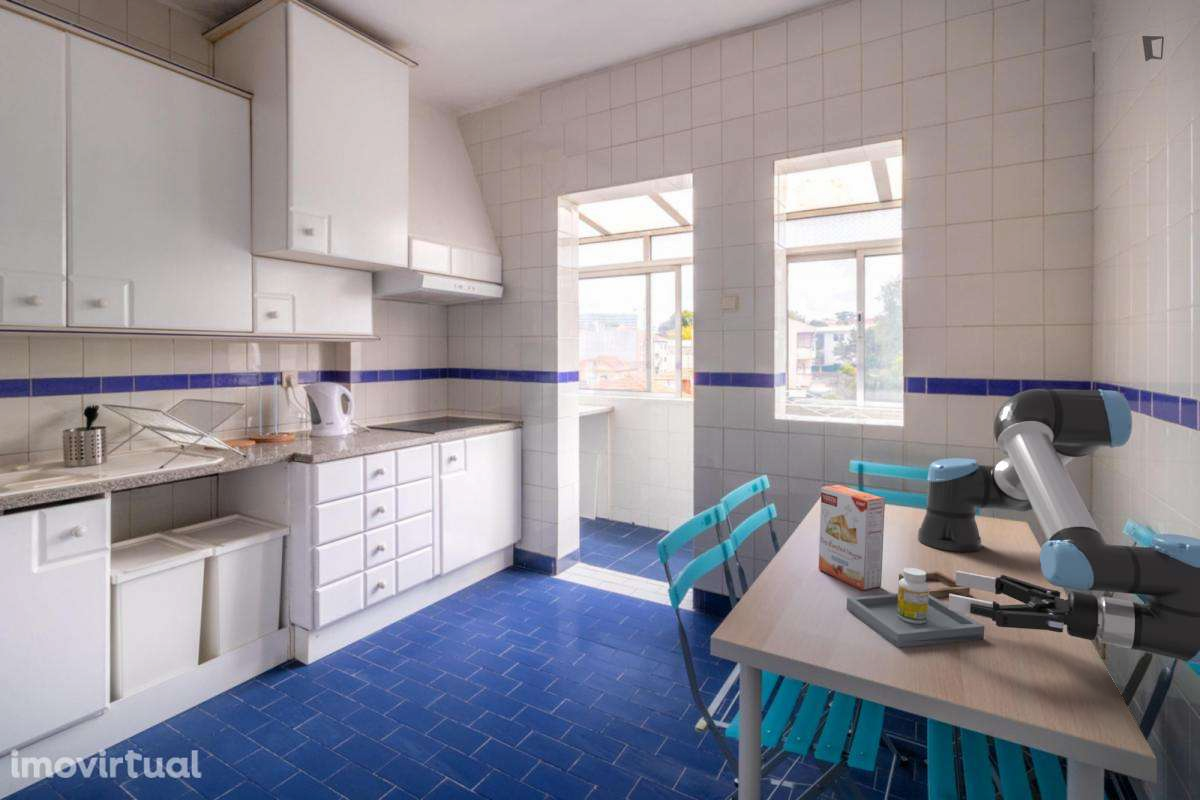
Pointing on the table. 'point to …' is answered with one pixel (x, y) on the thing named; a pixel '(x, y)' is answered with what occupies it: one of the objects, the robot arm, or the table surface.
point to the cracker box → (851, 536)
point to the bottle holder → (946, 580)
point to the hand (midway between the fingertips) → (952, 588)
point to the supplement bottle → (913, 596)
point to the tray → (902, 634)
